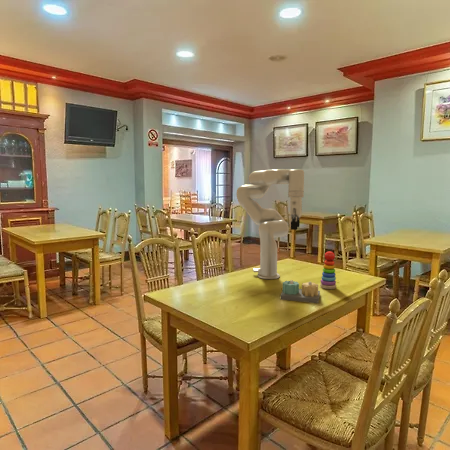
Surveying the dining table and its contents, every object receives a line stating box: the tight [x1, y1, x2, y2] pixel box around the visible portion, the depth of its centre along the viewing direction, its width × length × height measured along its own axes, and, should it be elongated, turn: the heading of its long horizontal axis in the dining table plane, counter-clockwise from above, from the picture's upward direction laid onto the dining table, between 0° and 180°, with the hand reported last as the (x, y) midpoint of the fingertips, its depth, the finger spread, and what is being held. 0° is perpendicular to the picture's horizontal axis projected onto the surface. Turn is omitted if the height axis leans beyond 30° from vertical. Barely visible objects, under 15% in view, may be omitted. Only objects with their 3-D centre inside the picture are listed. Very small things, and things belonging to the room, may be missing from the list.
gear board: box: [279, 279, 321, 304], centre depth 164 cm, size 17×12×8 cm
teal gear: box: [282, 280, 300, 295], centre depth 166 cm, size 8×8×4 cm
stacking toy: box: [319, 251, 337, 290], centre depth 178 cm, size 8×8×19 cm
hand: (295, 228), depth 177 cm, fingers open, 9 cm apart
